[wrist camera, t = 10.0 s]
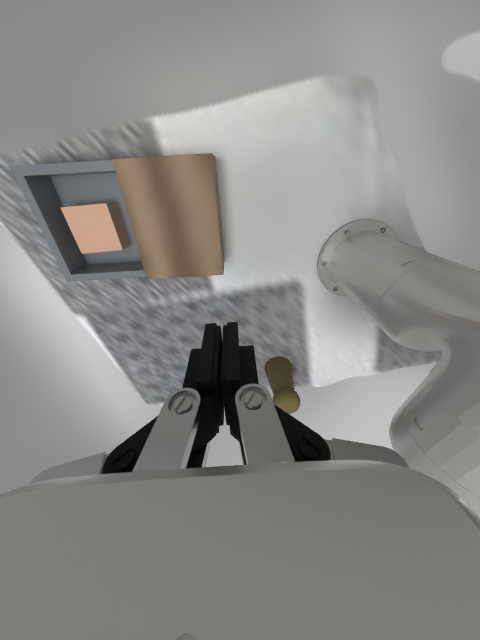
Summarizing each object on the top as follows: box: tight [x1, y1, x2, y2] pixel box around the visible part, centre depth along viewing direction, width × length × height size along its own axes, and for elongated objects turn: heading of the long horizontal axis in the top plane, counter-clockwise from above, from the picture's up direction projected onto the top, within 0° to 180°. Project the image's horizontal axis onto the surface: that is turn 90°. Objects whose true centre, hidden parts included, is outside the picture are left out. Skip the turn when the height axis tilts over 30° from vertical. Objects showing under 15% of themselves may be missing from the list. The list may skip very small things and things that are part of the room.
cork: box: [265, 357, 300, 414], centre depth 46 cm, size 6×6×11 cm
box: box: [10, 160, 146, 282], centre depth 31 cm, size 12×14×5 cm
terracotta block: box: [61, 201, 131, 254], centre depth 32 cm, size 6×6×3 cm
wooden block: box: [112, 153, 224, 279], centre depth 31 cm, size 11×14×6 cm
